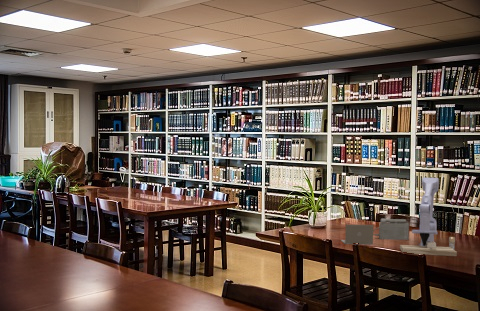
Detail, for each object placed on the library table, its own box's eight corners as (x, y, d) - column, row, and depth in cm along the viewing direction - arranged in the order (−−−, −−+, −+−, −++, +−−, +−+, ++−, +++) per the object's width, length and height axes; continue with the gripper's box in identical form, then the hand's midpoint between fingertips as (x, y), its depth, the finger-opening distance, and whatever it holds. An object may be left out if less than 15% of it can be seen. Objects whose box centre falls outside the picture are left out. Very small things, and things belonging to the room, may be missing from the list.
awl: (448, 249, 317) (448, 236, 316) (453, 249, 316) (454, 237, 316) (449, 250, 313) (449, 237, 313) (455, 251, 313) (455, 238, 313)
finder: (425, 245, 313) (425, 240, 313) (433, 246, 312) (434, 241, 312) (427, 247, 308) (427, 242, 308) (435, 248, 307) (436, 242, 307)
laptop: (367, 241, 340) (367, 221, 340) (372, 245, 328) (373, 225, 328) (340, 241, 340) (341, 221, 339) (345, 244, 327) (345, 224, 327)
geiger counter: (407, 218, 351) (371, 217, 350) (410, 219, 344) (374, 219, 343) (406, 238, 351) (370, 238, 350) (410, 240, 345) (373, 239, 344)
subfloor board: (399, 249, 316) (400, 244, 315) (450, 251, 311) (450, 247, 311) (403, 253, 303) (403, 249, 303) (456, 256, 299) (456, 251, 298)
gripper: (413, 223, 307) (413, 246, 308) (438, 224, 305) (438, 247, 306) (411, 222, 314) (410, 243, 315) (436, 223, 312) (435, 245, 313)
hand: (424, 245), depth 311 cm, fingers closed
